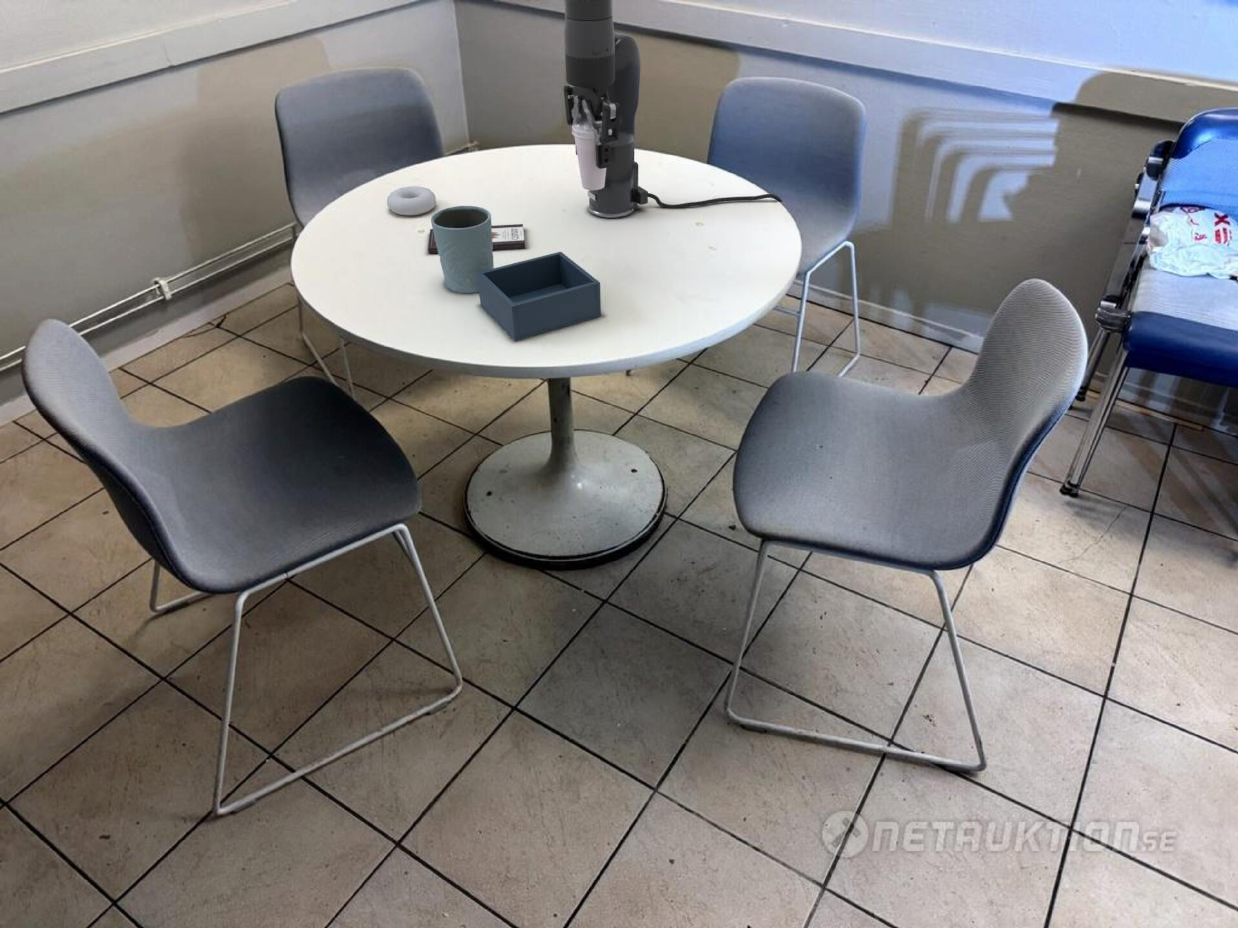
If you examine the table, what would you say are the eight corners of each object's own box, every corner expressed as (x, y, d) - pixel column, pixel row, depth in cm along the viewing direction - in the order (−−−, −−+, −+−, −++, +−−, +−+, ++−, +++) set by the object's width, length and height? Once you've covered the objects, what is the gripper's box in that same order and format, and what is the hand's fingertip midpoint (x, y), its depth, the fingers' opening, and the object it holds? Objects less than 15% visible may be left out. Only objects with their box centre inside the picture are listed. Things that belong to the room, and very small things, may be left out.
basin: (562, 283, 147) (561, 251, 143) (601, 316, 137) (600, 282, 134) (480, 305, 140) (476, 272, 137) (515, 341, 131) (511, 306, 127)
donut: (439, 199, 177) (391, 200, 177) (437, 183, 175) (388, 184, 175) (435, 218, 170) (385, 218, 169) (432, 201, 168) (382, 202, 167)
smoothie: (584, 196, 135) (581, 106, 127) (567, 183, 140) (563, 95, 131) (619, 189, 138) (618, 100, 129) (601, 176, 142) (600, 89, 133)
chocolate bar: (430, 229, 162) (522, 224, 164) (430, 233, 163) (523, 228, 165) (427, 248, 155) (524, 243, 157) (428, 253, 156) (525, 248, 158)
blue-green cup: (472, 300, 142) (464, 233, 134) (428, 286, 146) (417, 220, 138) (509, 277, 148) (503, 212, 141) (465, 264, 153) (457, 200, 145)
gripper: (636, 56, 122) (635, 170, 133) (588, 37, 132) (590, 145, 142) (591, 63, 119) (594, 179, 130) (545, 43, 129) (551, 153, 139)
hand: (592, 161), depth 136 cm, fingers closed on smoothie, 6 cm apart
